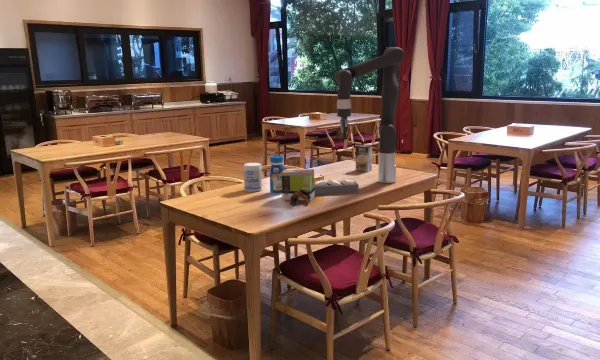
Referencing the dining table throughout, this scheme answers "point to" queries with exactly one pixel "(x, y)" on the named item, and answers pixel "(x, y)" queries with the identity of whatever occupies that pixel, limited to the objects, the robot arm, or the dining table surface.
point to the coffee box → (363, 158)
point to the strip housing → (336, 189)
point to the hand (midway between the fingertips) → (344, 139)
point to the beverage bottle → (276, 174)
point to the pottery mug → (302, 194)
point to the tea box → (297, 182)
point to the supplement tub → (252, 177)
